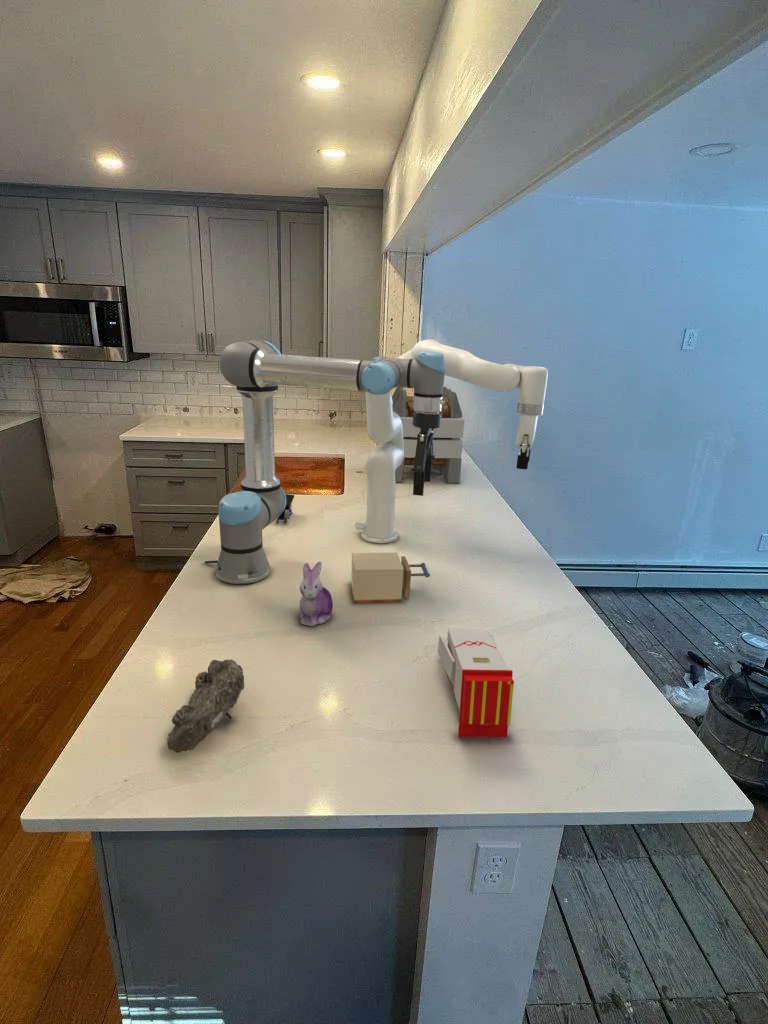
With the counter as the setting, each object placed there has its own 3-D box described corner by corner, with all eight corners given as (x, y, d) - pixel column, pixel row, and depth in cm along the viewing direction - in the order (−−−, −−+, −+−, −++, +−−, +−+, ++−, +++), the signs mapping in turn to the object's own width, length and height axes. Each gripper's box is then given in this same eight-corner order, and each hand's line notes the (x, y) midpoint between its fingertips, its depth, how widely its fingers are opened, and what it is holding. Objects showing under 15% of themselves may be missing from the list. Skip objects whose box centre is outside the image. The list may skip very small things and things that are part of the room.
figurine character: (290, 529, 203) (295, 510, 216) (289, 510, 200) (294, 492, 213) (271, 528, 203) (277, 510, 216) (270, 509, 199) (276, 492, 213)
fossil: (192, 660, 117) (244, 628, 112) (224, 691, 120) (276, 661, 115) (142, 746, 98) (202, 712, 93) (182, 779, 101) (242, 748, 96)
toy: (488, 613, 130) (523, 677, 101) (484, 667, 133) (517, 744, 104) (435, 612, 130) (455, 676, 101) (432, 666, 133) (451, 743, 103)
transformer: (382, 463, 289) (386, 382, 275) (445, 464, 293) (451, 384, 279) (390, 482, 257) (394, 392, 243) (460, 483, 261) (468, 394, 247)
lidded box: (395, 583, 164) (397, 552, 160) (401, 601, 154) (403, 569, 150) (351, 584, 162) (351, 552, 159) (354, 603, 152) (355, 569, 149)
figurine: (305, 631, 137) (304, 575, 132) (291, 611, 146) (290, 558, 141) (340, 623, 142) (342, 569, 137) (325, 604, 150) (326, 552, 145)
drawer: (422, 581, 164) (424, 555, 161) (429, 597, 155) (431, 570, 152) (363, 582, 162) (364, 556, 159) (366, 598, 153) (367, 571, 150)
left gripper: (434, 421, 139) (428, 502, 146) (446, 406, 162) (441, 477, 169) (404, 418, 141) (400, 499, 148) (420, 404, 164) (416, 474, 171)
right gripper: (519, 404, 177) (512, 457, 183) (514, 412, 162) (507, 470, 167) (544, 406, 175) (536, 459, 181) (541, 415, 160) (533, 473, 166)
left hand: (422, 487), depth 159 cm, fingers open, 13 cm apart
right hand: (522, 464), depth 174 cm, fingers open, 9 cm apart
